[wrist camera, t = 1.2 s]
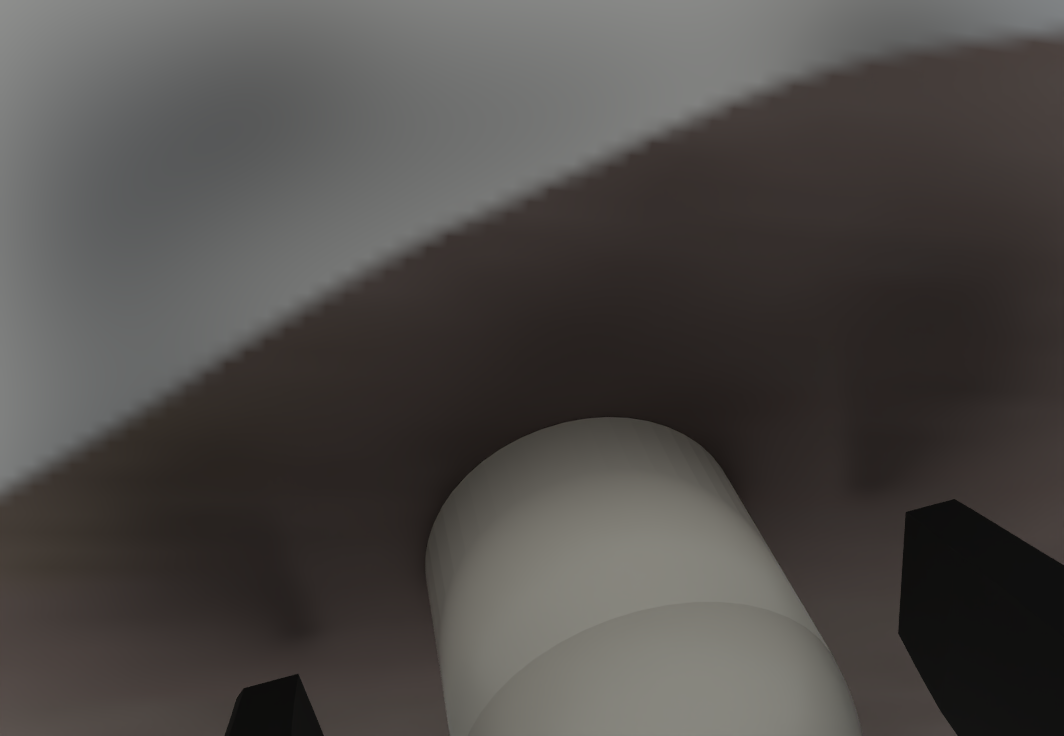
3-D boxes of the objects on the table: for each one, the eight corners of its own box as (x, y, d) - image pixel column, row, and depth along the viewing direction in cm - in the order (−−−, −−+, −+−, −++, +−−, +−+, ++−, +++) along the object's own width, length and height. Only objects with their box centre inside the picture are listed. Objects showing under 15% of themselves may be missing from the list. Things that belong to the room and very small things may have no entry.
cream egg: (741, 622, 15) (934, 1000, 10) (458, 695, 14) (528, 1121, 10) (729, 383, 12) (972, 735, 8) (392, 463, 12) (446, 880, 7)
